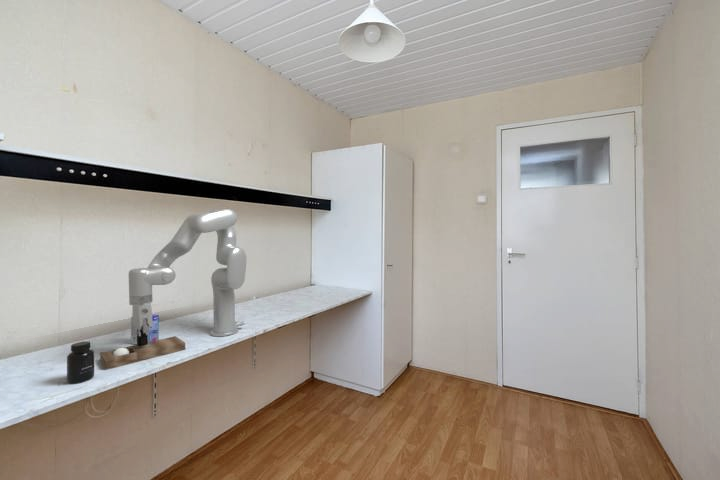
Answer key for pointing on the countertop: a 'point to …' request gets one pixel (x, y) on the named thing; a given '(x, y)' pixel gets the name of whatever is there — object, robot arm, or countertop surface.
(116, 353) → the ball
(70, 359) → the supplement bottle
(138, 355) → the board
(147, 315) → the robot arm
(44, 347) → the countertop surface
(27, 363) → the countertop surface
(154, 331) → the ink cartridge box
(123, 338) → the countertop surface
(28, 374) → the countertop surface
